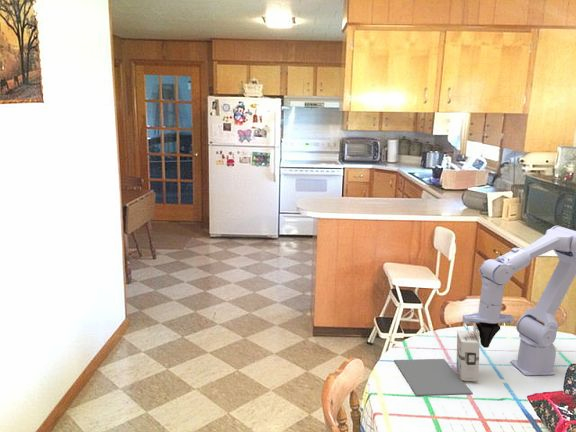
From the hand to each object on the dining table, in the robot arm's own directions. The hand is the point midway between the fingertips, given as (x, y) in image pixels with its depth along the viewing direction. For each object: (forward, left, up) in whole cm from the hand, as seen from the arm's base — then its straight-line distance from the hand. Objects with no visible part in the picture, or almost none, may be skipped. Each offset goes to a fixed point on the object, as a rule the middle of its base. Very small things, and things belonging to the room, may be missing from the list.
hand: (484, 345), depth 134 cm
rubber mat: (+15, 0, -9) cm, 18 cm away
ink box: (+4, 0, -9) cm, 10 cm away
